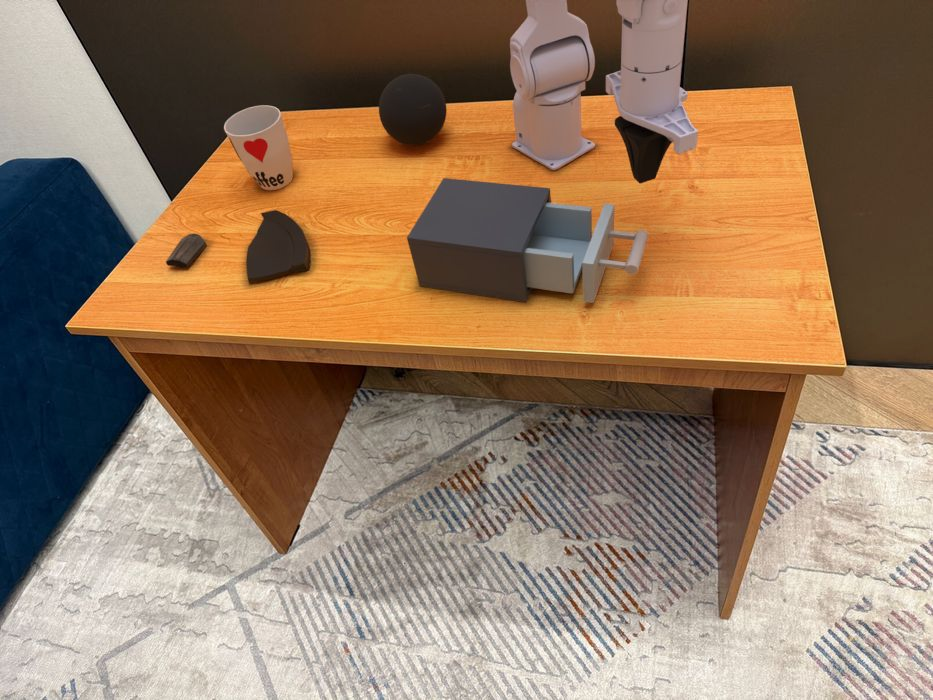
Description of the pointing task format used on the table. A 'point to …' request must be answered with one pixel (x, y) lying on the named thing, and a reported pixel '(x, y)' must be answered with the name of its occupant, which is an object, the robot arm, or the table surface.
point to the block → (186, 251)
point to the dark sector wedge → (277, 248)
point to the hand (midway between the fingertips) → (644, 177)
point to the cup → (262, 145)
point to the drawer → (576, 249)
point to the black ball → (412, 109)
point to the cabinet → (477, 237)
